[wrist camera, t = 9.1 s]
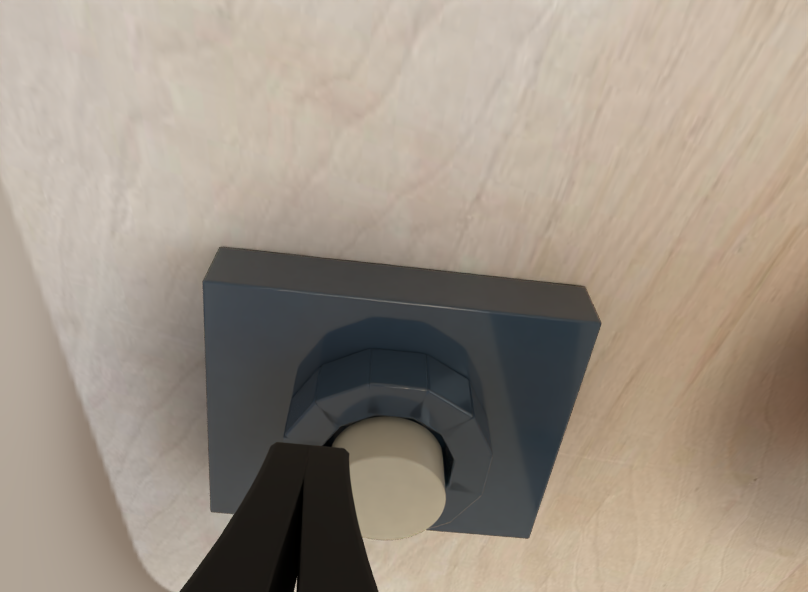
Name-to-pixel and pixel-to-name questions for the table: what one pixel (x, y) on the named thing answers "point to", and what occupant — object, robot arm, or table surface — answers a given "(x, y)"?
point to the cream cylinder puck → (394, 476)
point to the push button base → (394, 372)
